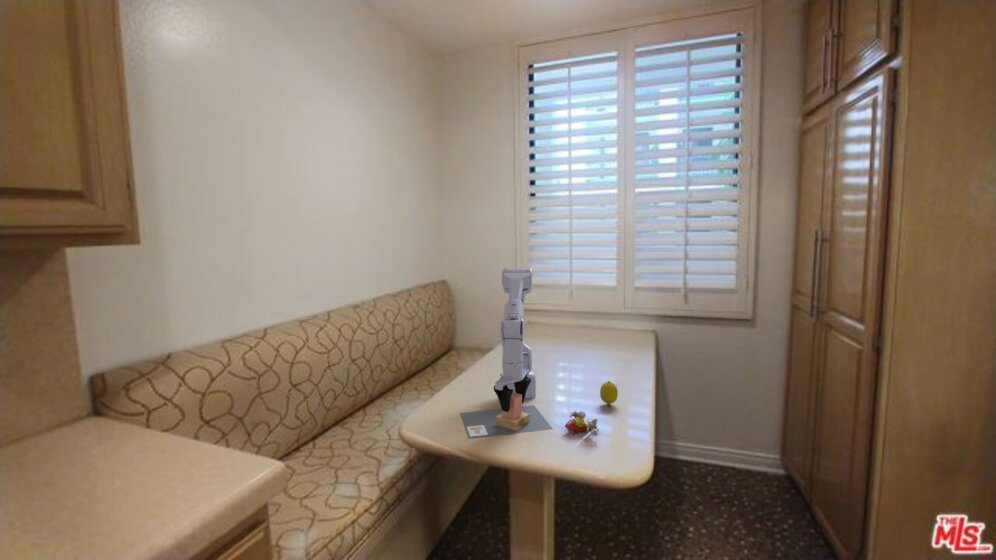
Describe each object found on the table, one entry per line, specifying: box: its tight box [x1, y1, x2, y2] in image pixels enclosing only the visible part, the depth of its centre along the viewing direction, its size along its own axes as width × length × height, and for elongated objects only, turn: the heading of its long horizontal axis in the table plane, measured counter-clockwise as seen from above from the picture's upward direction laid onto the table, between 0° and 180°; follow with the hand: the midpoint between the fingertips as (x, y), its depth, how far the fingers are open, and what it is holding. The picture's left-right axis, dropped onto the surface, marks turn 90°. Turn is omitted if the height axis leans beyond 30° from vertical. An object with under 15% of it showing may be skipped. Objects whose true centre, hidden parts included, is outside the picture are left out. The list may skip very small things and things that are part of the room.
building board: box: [459, 404, 554, 440], centre depth 129 cm, size 24×17×1 cm
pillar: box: [503, 392, 523, 419], centre depth 127 cm, size 4×4×6 cm
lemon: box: [599, 380, 619, 406], centre depth 141 cm, size 6×6×8 cm
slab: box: [496, 412, 530, 431], centre depth 127 cm, size 7×7×2 cm
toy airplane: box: [564, 410, 600, 435], centre depth 123 cm, size 9×9×6 cm
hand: (512, 406), depth 127 cm, fingers open, 7 cm apart
